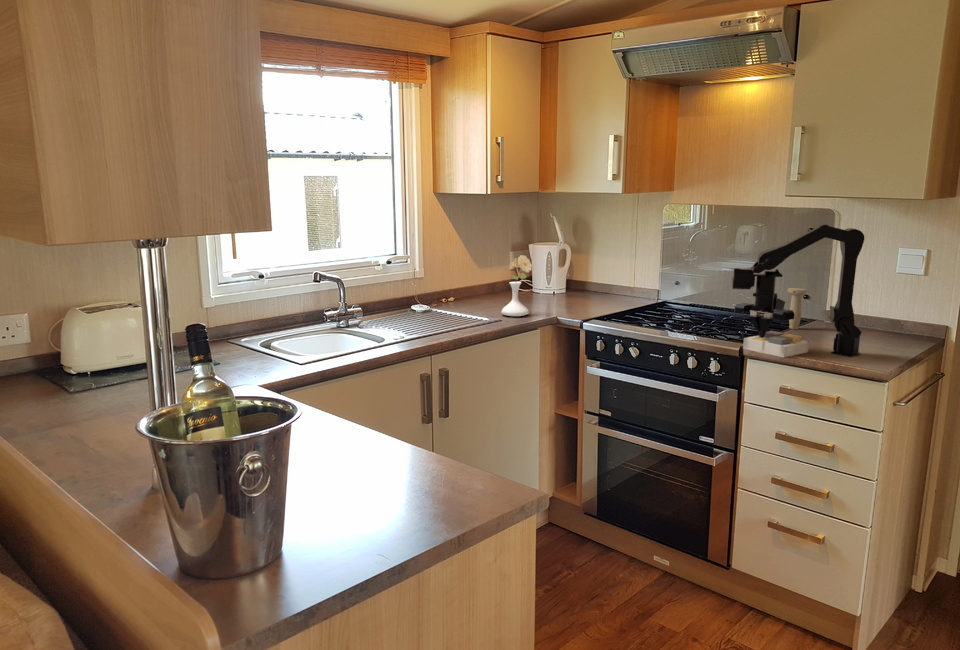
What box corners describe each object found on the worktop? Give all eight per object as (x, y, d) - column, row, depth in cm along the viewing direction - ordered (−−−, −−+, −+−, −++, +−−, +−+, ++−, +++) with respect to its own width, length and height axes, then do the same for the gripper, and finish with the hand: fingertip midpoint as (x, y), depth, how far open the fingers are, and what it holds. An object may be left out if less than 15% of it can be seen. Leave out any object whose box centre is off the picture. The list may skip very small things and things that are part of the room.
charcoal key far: (783, 341, 243) (783, 333, 242) (774, 343, 240) (775, 334, 239) (770, 339, 246) (771, 330, 246) (762, 341, 244) (762, 332, 243)
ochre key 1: (771, 348, 240) (772, 339, 239) (762, 350, 237) (763, 341, 236) (759, 346, 243) (760, 337, 243) (750, 347, 241) (751, 338, 240)
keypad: (808, 352, 237) (808, 341, 236) (783, 357, 230) (784, 346, 229) (767, 343, 249) (768, 333, 248) (743, 348, 242) (743, 338, 241)
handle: (800, 330, 271) (803, 290, 268) (782, 328, 275) (785, 288, 272) (805, 329, 274) (808, 289, 271) (788, 326, 279) (791, 287, 276)
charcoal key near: (789, 347, 234) (790, 338, 233) (780, 349, 232) (781, 340, 231) (776, 345, 238) (777, 336, 237) (768, 346, 235) (768, 337, 235)
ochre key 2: (800, 345, 237) (801, 336, 237) (792, 347, 235) (793, 338, 234) (787, 342, 241) (788, 333, 240) (779, 344, 239) (780, 335, 238)
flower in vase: (510, 319, 295) (510, 257, 290) (496, 314, 305) (496, 254, 300) (537, 316, 301) (538, 255, 296) (522, 312, 311) (523, 253, 306)
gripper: (806, 291, 233) (802, 339, 236) (755, 285, 249) (752, 330, 252) (785, 294, 227) (781, 343, 230) (734, 287, 242) (731, 333, 245)
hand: (761, 337), depth 239 cm, fingers closed
